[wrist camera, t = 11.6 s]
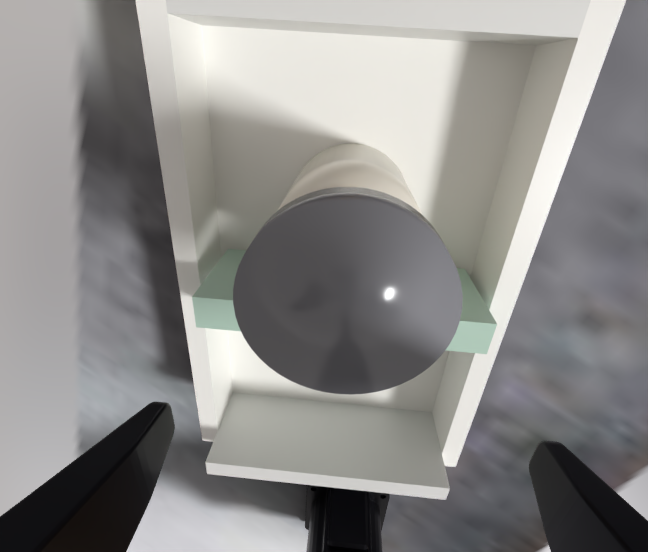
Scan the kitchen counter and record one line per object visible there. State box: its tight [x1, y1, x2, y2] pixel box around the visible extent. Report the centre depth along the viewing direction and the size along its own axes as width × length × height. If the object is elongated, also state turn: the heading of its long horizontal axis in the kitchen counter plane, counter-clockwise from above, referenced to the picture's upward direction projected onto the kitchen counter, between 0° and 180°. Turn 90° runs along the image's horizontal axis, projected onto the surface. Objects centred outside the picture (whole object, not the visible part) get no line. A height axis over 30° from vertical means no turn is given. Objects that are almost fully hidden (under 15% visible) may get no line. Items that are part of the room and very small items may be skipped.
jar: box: [233, 143, 463, 395], centre depth 13 cm, size 6×6×9 cm
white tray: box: [135, 0, 626, 500], centre depth 17 cm, size 22×15×6 cm
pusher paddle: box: [192, 249, 497, 354], centre depth 17 cm, size 3×12×5 cm, turn 87°
